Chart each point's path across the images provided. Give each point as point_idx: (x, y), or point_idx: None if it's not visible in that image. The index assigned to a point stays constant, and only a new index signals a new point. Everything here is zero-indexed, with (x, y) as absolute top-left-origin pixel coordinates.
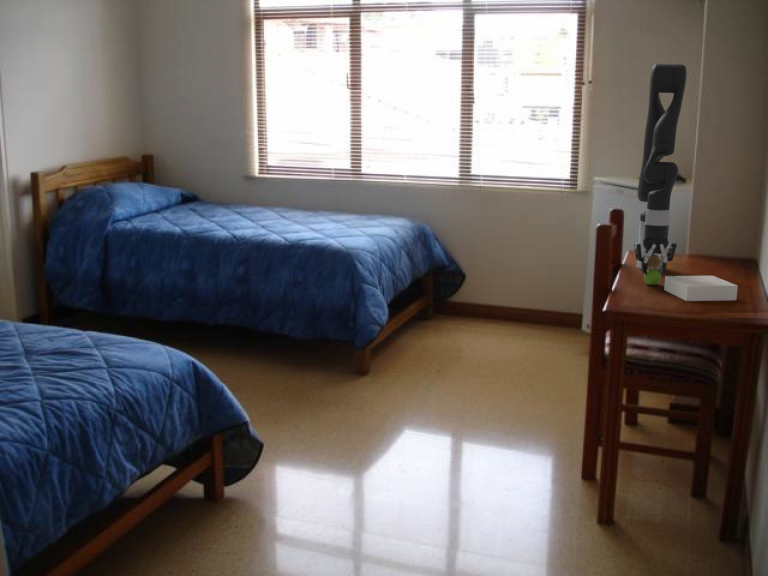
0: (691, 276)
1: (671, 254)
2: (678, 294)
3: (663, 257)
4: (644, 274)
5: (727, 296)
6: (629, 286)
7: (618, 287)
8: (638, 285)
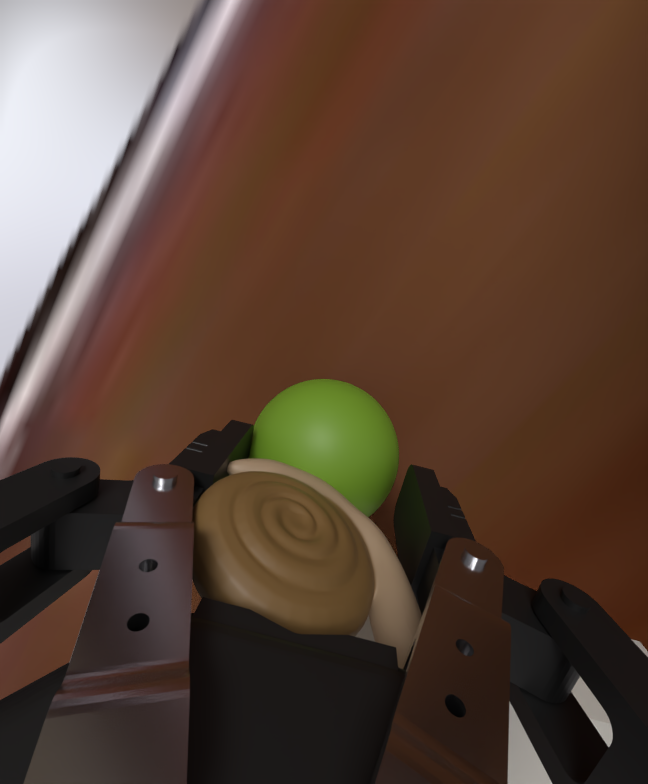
0: (514, 719)
1: (567, 779)
2: None
3: None
4: (257, 421)
5: None
6: (150, 400)
7: (60, 405)
8: (233, 392)
